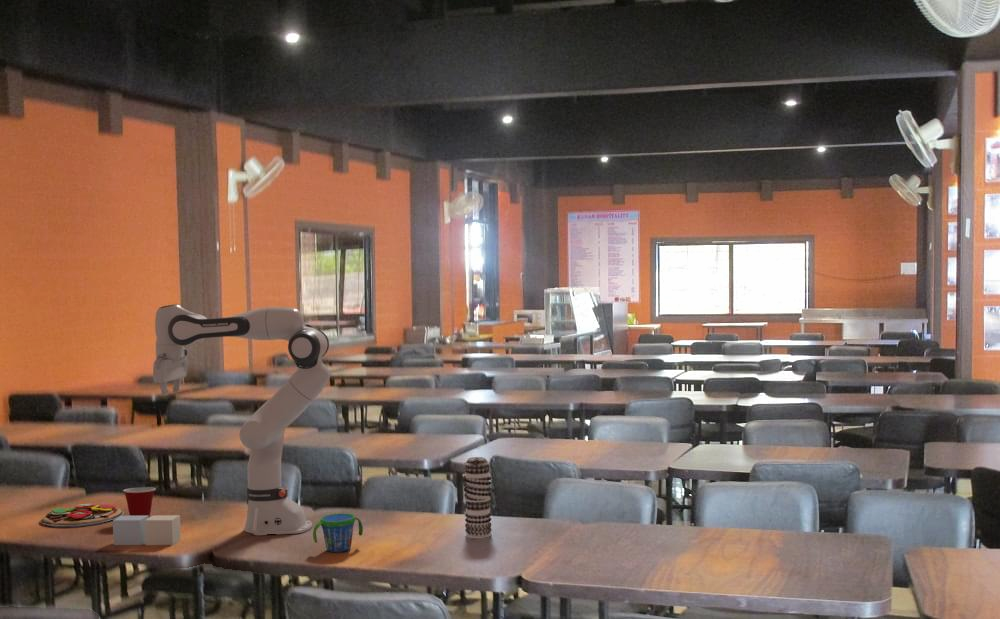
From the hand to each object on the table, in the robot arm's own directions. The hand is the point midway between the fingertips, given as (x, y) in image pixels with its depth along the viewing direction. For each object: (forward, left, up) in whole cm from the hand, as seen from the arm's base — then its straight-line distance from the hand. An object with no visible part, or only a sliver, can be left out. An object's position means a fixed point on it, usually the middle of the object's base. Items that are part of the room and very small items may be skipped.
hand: (170, 393), depth 331 cm
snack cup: (-62, +25, -47) cm, 82 cm away
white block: (+8, +16, -46) cm, 50 cm away
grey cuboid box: (-3, +16, -46) cm, 49 cm away
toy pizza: (+41, -17, -47) cm, 65 cm away
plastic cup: (+17, -11, -47) cm, 51 cm away
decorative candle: (-104, +8, -47) cm, 114 cm away
